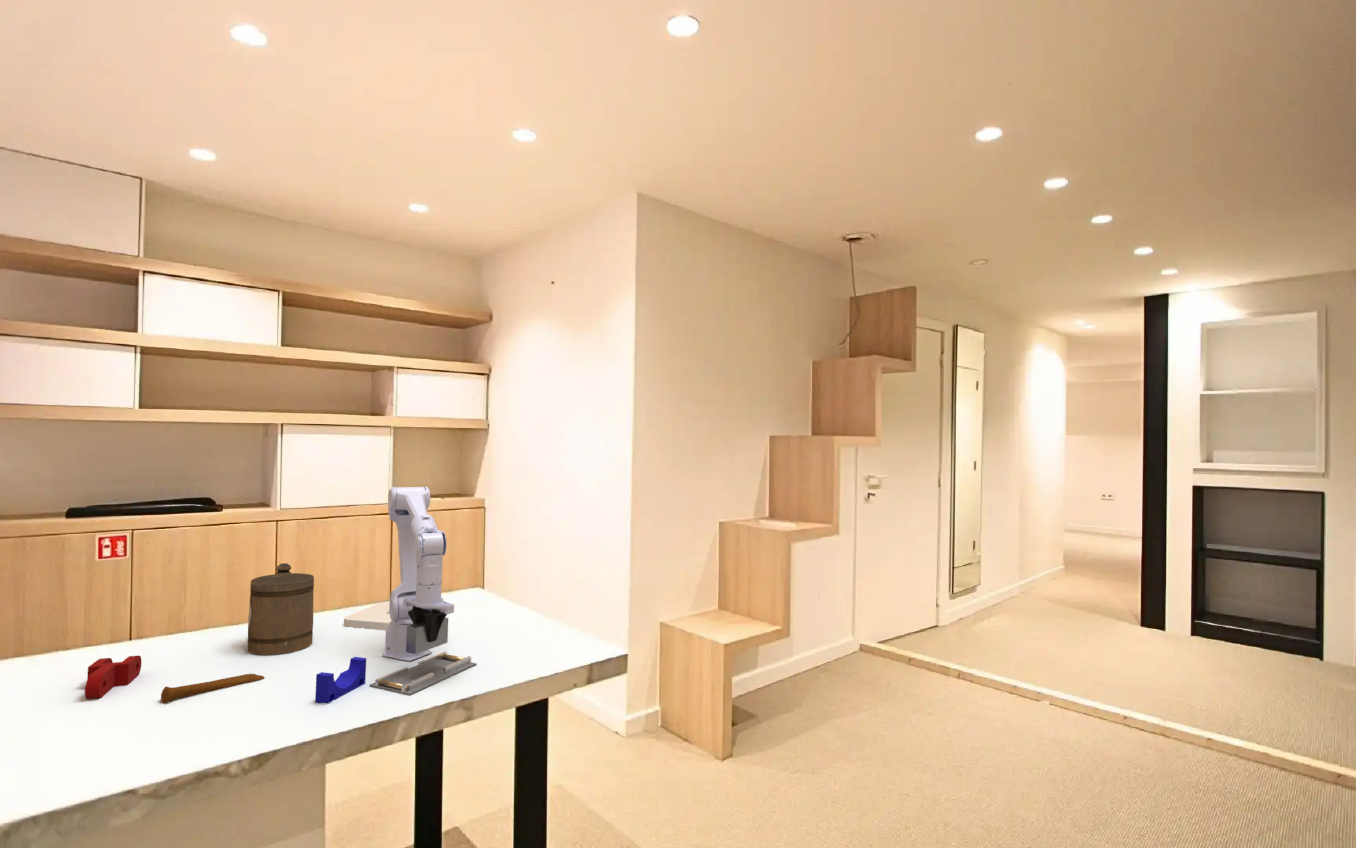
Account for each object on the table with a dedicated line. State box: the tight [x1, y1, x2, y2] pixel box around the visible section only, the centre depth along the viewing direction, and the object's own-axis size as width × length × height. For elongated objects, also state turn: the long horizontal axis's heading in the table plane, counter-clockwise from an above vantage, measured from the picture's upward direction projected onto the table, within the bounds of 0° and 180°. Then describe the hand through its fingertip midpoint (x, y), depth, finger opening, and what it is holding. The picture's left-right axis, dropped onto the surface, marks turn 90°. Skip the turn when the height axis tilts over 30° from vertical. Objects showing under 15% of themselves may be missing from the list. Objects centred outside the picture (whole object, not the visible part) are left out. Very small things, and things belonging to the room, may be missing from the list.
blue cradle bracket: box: [314, 656, 367, 705], centre depth 145 cm, size 12×4×6 cm, turn 168°
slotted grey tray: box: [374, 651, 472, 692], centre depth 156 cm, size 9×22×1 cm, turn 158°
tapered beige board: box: [343, 601, 392, 632], centre depth 202 cm, size 22×22×3 cm
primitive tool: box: [160, 673, 265, 704], centre depth 145 cm, size 19×6×4 cm, turn 151°
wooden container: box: [247, 563, 315, 656], centre depth 174 cm, size 15×15×22 cm
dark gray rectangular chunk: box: [406, 617, 449, 654], centre depth 157 cm, size 3×10×6 cm, turn 155°
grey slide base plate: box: [369, 659, 477, 696], centre depth 156 cm, size 12×22×1 cm, turn 158°
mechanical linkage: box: [84, 655, 142, 700], centre depth 144 cm, size 16×7×5 cm, turn 23°
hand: (427, 640), depth 157 cm, fingers closed on dark gray rectangular chunk, 3 cm apart
